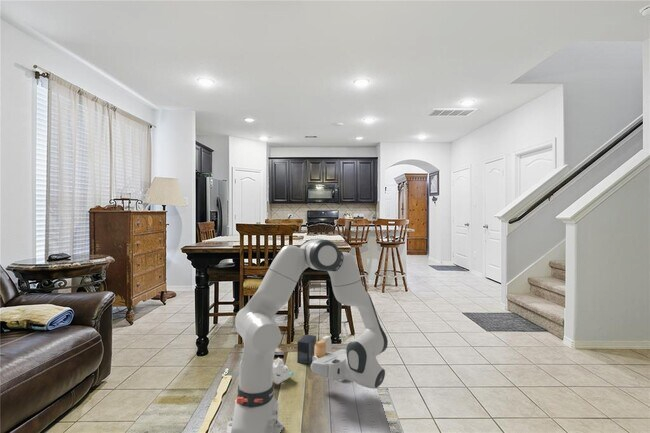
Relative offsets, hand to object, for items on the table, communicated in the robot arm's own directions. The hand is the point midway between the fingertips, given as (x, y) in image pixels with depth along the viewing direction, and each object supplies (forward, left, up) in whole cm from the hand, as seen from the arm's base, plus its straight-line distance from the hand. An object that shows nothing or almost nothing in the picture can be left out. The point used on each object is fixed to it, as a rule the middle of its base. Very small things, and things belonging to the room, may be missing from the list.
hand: (318, 355), depth 146 cm
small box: (+28, +7, -14) cm, 32 cm away
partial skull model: (+6, +17, -14) cm, 23 cm away
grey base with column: (+16, -6, -14) cm, 22 cm away
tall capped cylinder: (-1, -1, -7) cm, 7 cm away
